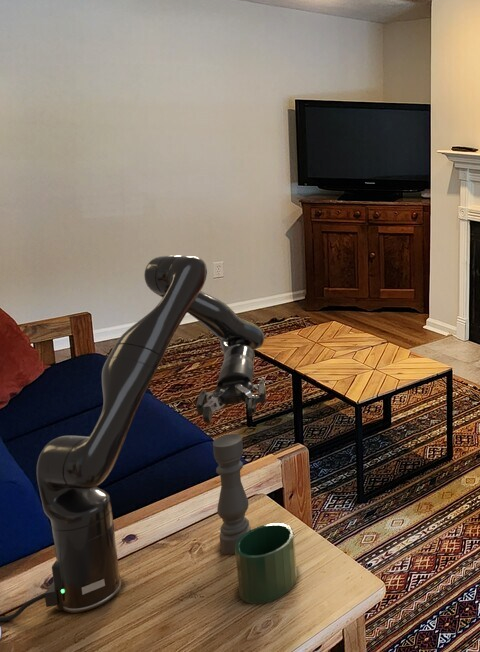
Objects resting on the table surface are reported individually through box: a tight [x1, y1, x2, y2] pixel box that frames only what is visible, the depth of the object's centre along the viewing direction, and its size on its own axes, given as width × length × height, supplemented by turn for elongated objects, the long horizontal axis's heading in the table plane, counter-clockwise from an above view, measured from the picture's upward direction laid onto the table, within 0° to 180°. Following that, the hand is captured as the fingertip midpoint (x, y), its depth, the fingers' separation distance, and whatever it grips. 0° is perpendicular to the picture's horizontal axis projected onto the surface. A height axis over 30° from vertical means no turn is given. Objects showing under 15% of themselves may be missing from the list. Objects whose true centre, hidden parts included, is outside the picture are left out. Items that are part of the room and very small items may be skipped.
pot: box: [234, 522, 298, 605], centre depth 125 cm, size 11×11×10 cm
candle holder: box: [212, 433, 252, 555], centre depth 135 cm, size 6×6×25 cm
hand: (229, 416), depth 139 cm, fingers open, 8 cm apart
